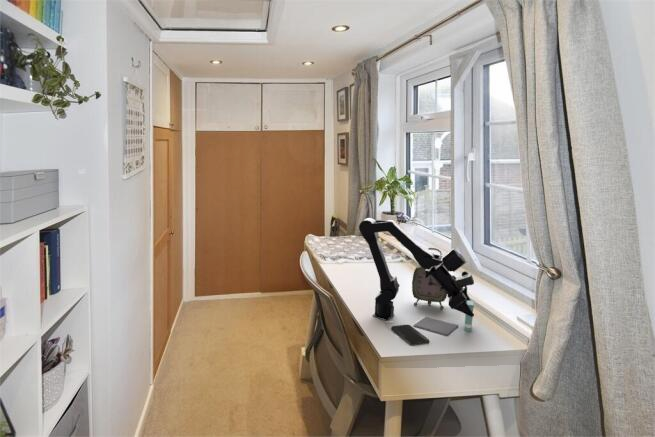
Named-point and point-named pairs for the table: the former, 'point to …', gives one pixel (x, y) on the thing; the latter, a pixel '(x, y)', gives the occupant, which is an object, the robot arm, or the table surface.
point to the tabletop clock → (427, 286)
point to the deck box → (468, 317)
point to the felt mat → (436, 326)
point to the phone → (410, 335)
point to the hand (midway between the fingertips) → (473, 311)
